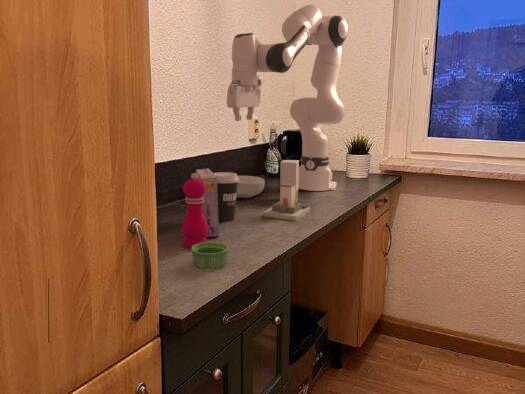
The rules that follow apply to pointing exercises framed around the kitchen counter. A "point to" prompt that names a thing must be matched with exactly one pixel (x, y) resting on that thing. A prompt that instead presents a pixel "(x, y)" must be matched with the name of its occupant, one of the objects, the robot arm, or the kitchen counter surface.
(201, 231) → the pepper mill
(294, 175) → the skincare box
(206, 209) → the cake pan box
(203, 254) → the ramekin
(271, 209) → the board
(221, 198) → the coffee cup
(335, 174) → the kitchen counter surface
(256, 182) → the cereal bowl
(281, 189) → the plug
